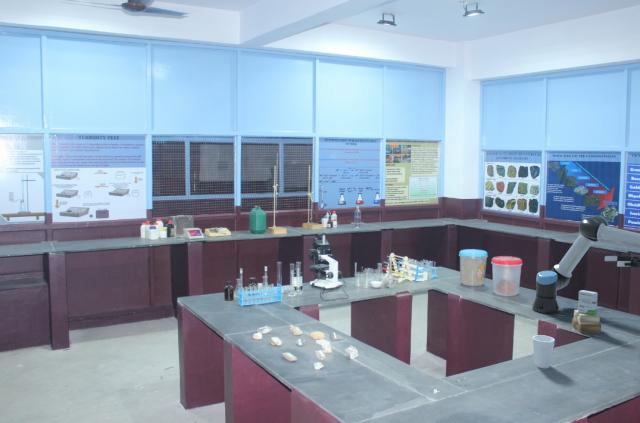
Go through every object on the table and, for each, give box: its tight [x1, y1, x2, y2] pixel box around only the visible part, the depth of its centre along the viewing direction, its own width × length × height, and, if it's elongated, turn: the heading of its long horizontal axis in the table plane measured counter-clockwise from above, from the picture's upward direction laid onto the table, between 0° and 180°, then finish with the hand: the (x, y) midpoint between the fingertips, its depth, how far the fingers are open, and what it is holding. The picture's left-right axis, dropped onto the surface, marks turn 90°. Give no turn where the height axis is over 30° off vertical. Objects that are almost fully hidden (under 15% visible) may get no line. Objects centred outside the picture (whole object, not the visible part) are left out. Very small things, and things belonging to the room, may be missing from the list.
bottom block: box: [571, 317, 602, 334], centre depth 310 cm, size 11×11×5 cm
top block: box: [573, 309, 601, 325], centre depth 309 cm, size 10×10×5 cm
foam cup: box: [532, 334, 555, 369], centre depth 261 cm, size 10×9×13 cm
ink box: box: [577, 289, 599, 315], centre depth 308 cm, size 9×5×12 cm, turn 44°
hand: (611, 261), depth 307 cm, fingers open, 13 cm apart
